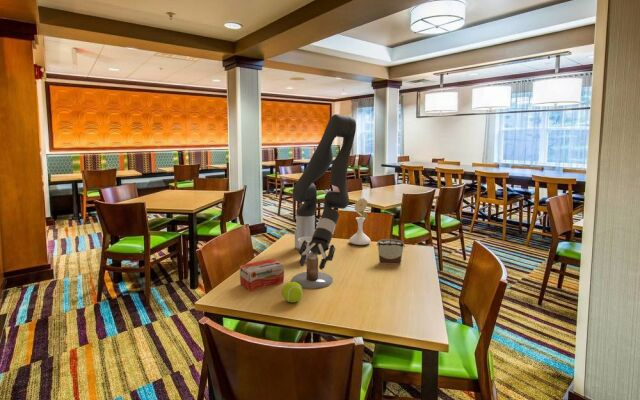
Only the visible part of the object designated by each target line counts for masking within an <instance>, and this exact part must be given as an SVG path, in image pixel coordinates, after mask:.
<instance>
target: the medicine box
mask: <svg viewBox="0 0 640 400" xmlns="http://www.w3.org/2000/svg"><path fill="white" fill-rule="evenodd" d="M284 280H285V267H284V263H283V262H280V261H278V260H277V259H275V258H269V259H265V260H260V261H254V262H251V263H250V262H249V263H246V264H245V263H244V264H241V265H240V266H239V281H240V282H239V283H240V286H242V287H244V288H245V289H247V290H248V291H249V292H253V291H256V290H260V289H264V288H268V287H271V286H272V287H273V286H276V285H280V284H283V283H284Z"/></svg>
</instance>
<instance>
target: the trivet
mask: <svg viewBox="0 0 640 400" xmlns="http://www.w3.org/2000/svg"><path fill="white" fill-rule="evenodd" d="M291 278H292V279H291V282H297V283H298V284H300V286H301V287H302V289H309V290H311V289H313V290H314V289H315V290H316V289H324V288H326V287H328V286H329V287H330V285H331V284H333V277H332V275H330V274H328V273H327V272H326V273H325V272H321V271H318V280H316V281H309V280H307V271H304V272H300V273H296V274H295V275H293V276H292V277H291Z"/></svg>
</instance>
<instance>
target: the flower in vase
mask: <svg viewBox="0 0 640 400" xmlns="http://www.w3.org/2000/svg"><path fill="white" fill-rule="evenodd" d="M367 207H368V201H367V199H365V198H364V197H362V198H360V199H359V198H358V199H357V200H356V203H354V210H355V212H356V213H357V214H358V215H359V217H357V216H356V217H355V220H356V221H357V232H356V233H355V234H353V235H352V236H350V238H349V240H348V241H349V243H351V244H353V245H357V246H363V245H368V244H370V243H371V242H372V241H371V239H370V237H369V236H367V235H366V233H364V230H363V225H364V221H365V220H366V218H368V217H369V216H368V214H367V212H365V209H367ZM360 212H363V213H360Z"/></svg>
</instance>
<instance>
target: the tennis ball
mask: <svg viewBox="0 0 640 400" xmlns="http://www.w3.org/2000/svg"><path fill="white" fill-rule="evenodd" d="M303 291H304V290H303V288H302V287H301V286H300V284H298V283H297V282H292V281H289V282H286V284H285V285H284V286H283V288H282V293H281V294H282V297H283V299H284V300H285V301H286V302H288V303H296V302H299V301H300V300H301V299H302V297H303V294H304V292H303Z"/></svg>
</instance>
